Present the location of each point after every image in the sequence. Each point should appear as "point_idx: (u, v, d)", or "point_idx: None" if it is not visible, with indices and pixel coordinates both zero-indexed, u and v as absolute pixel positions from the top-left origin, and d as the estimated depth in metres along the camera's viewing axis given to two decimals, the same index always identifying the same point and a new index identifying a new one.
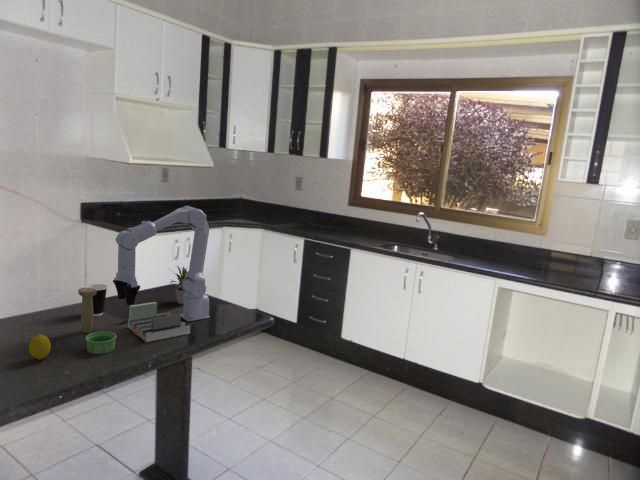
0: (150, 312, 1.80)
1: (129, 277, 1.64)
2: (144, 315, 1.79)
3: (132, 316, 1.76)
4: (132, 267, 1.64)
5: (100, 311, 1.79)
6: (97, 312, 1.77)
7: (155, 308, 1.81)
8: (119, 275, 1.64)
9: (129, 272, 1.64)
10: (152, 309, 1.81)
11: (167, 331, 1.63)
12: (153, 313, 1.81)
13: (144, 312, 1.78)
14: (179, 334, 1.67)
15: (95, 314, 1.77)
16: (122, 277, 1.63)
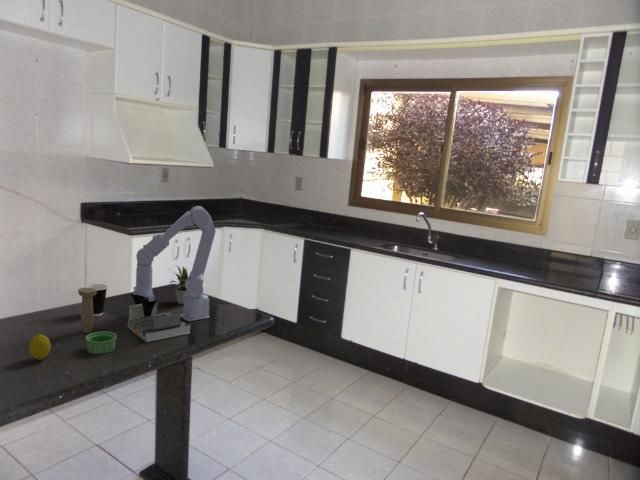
0: None
1: (146, 291, 1.76)
2: None
3: (132, 316, 1.76)
4: (149, 282, 1.76)
5: (100, 311, 1.79)
6: (97, 312, 1.77)
7: (155, 308, 1.81)
8: (137, 289, 1.75)
9: (146, 286, 1.75)
10: None
11: (167, 331, 1.63)
12: (153, 313, 1.81)
13: None
14: (179, 334, 1.67)
15: (95, 314, 1.77)
16: (140, 291, 1.75)
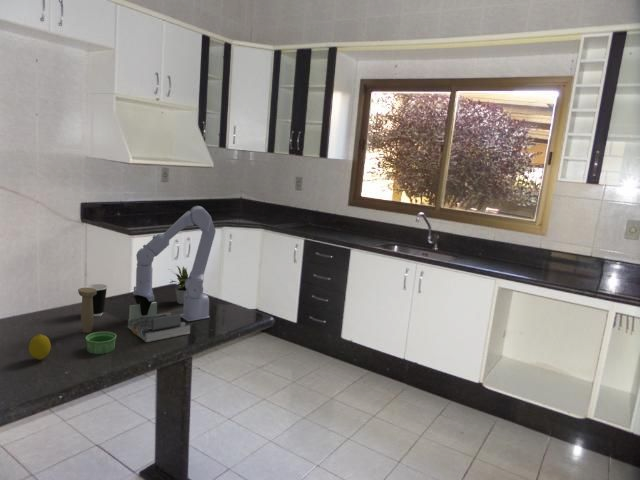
0: (150, 312, 1.80)
1: (146, 291, 1.76)
2: (144, 315, 1.79)
3: (132, 316, 1.76)
4: (149, 282, 1.76)
5: (100, 311, 1.79)
6: (97, 312, 1.77)
7: (155, 308, 1.81)
8: (137, 289, 1.75)
9: (146, 286, 1.75)
10: (152, 309, 1.81)
11: (167, 331, 1.63)
12: (153, 313, 1.81)
13: None
14: (179, 334, 1.67)
15: (95, 314, 1.77)
16: (140, 291, 1.75)
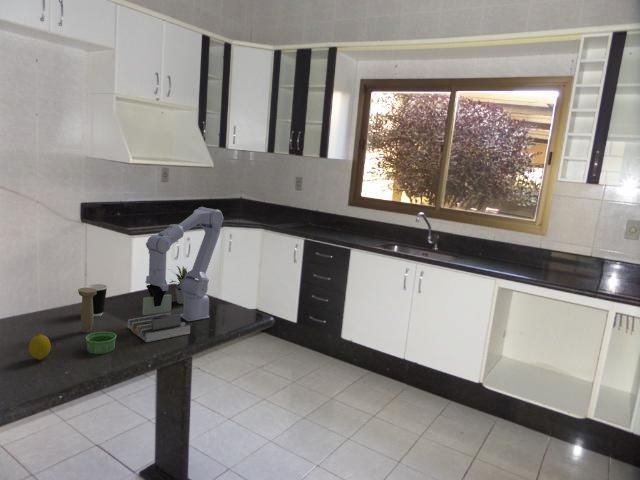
0: (164, 305, 1.71)
1: (160, 281, 1.66)
2: (158, 308, 1.70)
3: (146, 309, 1.67)
4: (163, 271, 1.67)
5: (100, 311, 1.79)
6: (97, 312, 1.77)
7: (169, 301, 1.73)
8: (150, 279, 1.66)
9: (160, 275, 1.66)
10: (166, 302, 1.72)
11: (167, 331, 1.63)
12: (167, 306, 1.72)
13: None
14: (179, 334, 1.67)
15: (95, 314, 1.77)
16: (153, 281, 1.66)
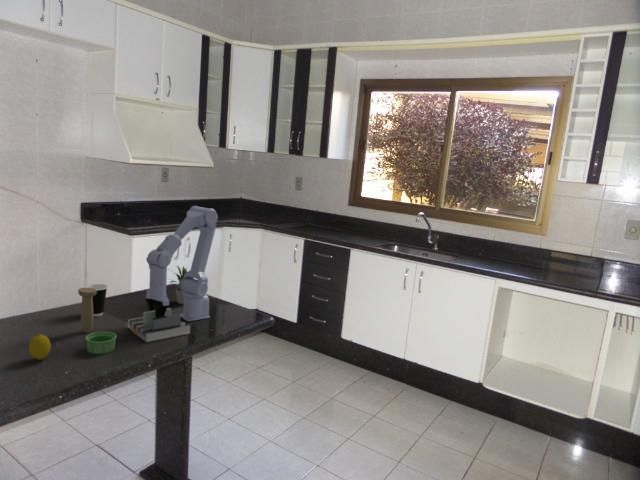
0: None
1: (160, 295, 1.67)
2: None
3: (146, 323, 1.67)
4: (163, 285, 1.67)
5: (100, 311, 1.79)
6: (97, 312, 1.77)
7: (170, 314, 1.73)
8: (151, 293, 1.66)
9: (160, 290, 1.66)
10: (167, 315, 1.72)
11: (167, 331, 1.63)
12: None
13: None
14: (179, 334, 1.67)
15: (95, 314, 1.77)
16: (154, 295, 1.66)
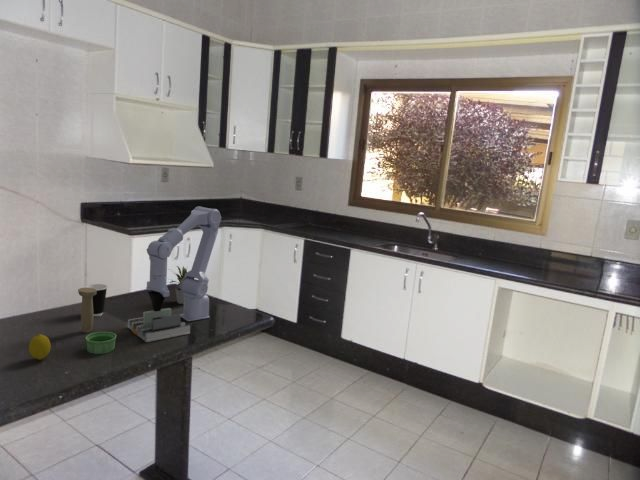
0: None
1: (161, 287, 1.66)
2: None
3: (146, 323, 1.67)
4: (164, 277, 1.66)
5: (100, 311, 1.79)
6: (97, 312, 1.77)
7: (170, 314, 1.73)
8: (151, 284, 1.66)
9: (160, 281, 1.66)
10: (167, 315, 1.72)
11: (167, 331, 1.63)
12: None
13: None
14: (179, 334, 1.67)
15: (95, 314, 1.77)
16: (154, 287, 1.65)
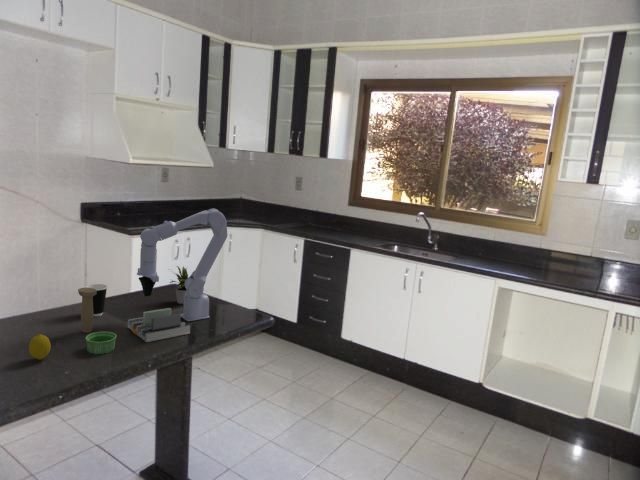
0: None
1: (151, 272, 1.74)
2: None
3: (146, 323, 1.67)
4: (154, 263, 1.75)
5: (100, 311, 1.79)
6: (97, 312, 1.77)
7: (170, 314, 1.73)
8: (141, 270, 1.74)
9: (150, 267, 1.74)
10: (167, 315, 1.72)
11: (167, 331, 1.63)
12: None
13: None
14: (179, 334, 1.67)
15: (95, 314, 1.77)
16: (144, 272, 1.74)
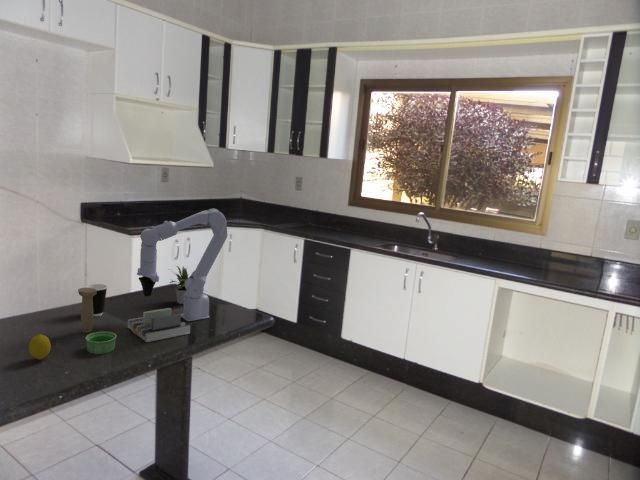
0: None
1: (151, 272, 1.74)
2: None
3: (146, 323, 1.67)
4: (154, 263, 1.75)
5: (100, 311, 1.79)
6: (97, 312, 1.77)
7: (170, 314, 1.73)
8: (141, 270, 1.74)
9: (150, 267, 1.74)
10: (167, 315, 1.72)
11: (167, 331, 1.63)
12: None
13: None
14: (179, 334, 1.67)
15: (95, 314, 1.77)
16: (144, 272, 1.74)
